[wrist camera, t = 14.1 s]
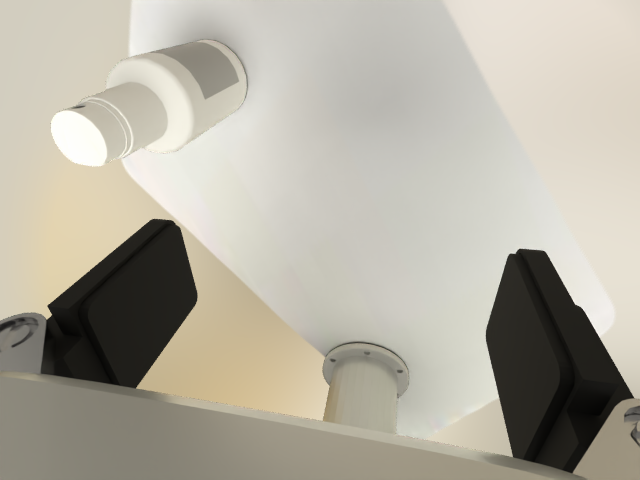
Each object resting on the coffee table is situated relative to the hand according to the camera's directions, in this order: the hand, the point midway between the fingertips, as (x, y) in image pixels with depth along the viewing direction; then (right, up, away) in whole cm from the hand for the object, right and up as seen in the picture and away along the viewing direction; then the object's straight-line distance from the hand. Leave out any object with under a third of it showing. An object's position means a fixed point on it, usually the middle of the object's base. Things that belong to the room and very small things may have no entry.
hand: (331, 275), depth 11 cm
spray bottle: (-10, +17, +25) cm, 32 cm away
